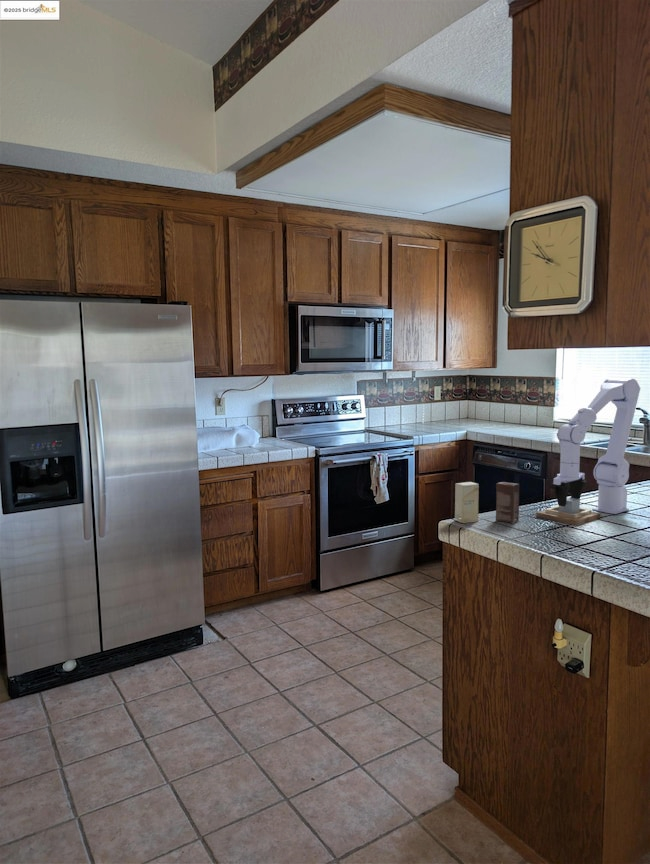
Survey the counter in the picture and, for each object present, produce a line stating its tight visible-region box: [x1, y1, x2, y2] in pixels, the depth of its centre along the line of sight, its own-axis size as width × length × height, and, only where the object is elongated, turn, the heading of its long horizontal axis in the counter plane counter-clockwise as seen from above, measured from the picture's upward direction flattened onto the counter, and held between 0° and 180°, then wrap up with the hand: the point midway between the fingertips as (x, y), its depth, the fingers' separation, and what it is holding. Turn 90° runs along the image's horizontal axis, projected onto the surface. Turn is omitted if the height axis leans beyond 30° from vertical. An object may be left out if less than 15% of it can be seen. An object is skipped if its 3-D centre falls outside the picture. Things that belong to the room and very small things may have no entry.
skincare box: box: [454, 481, 480, 524], centre depth 193 cm, size 6×4×12 cm
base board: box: [535, 505, 602, 526], centre depth 196 cm, size 14×14×2 cm
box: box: [495, 481, 520, 524], centre depth 193 cm, size 6×4×12 cm
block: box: [558, 496, 581, 514], centre depth 196 cm, size 4×4×4 cm
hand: (568, 503), depth 196 cm, fingers open, 7 cm apart
